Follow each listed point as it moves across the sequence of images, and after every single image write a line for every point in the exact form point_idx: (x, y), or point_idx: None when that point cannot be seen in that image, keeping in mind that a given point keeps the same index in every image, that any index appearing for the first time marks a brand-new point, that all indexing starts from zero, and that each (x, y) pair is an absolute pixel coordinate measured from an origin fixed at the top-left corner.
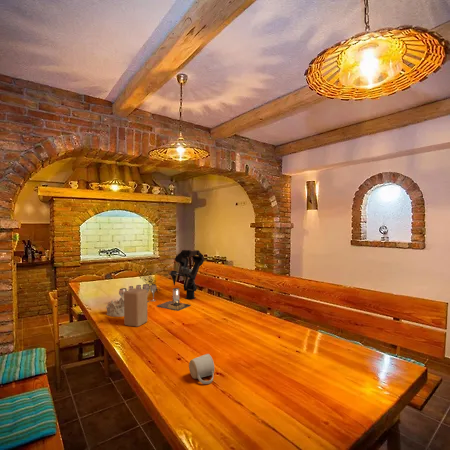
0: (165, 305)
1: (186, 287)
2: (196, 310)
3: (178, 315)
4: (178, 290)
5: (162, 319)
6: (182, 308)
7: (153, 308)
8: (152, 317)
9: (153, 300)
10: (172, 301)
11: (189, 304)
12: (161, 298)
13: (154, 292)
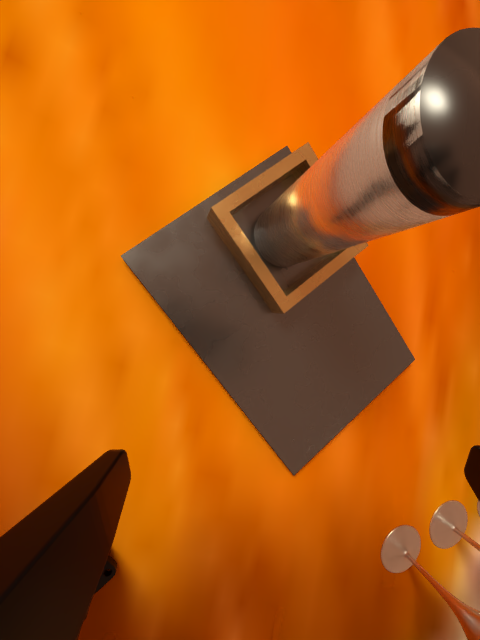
0: (356, 330)
1: (112, 450)
2: (105, 62)
3: (304, 23)
4: (412, 71)
5: (422, 9)
6: (234, 182)
7: (432, 314)
8: None
9: (404, 540)
10: (276, 447)
11: (133, 271)
12: (334, 608)
13: (468, 620)
